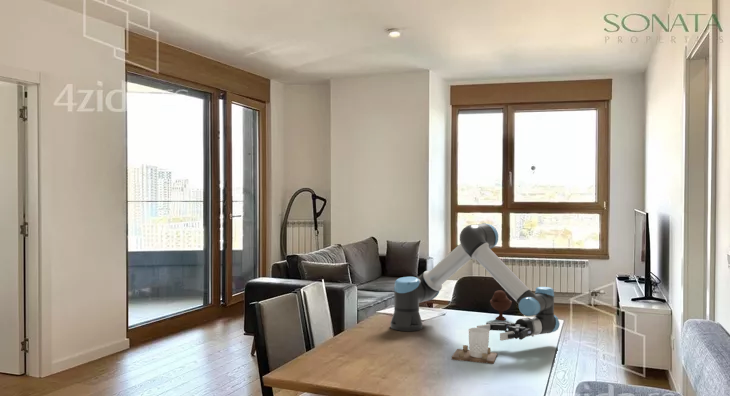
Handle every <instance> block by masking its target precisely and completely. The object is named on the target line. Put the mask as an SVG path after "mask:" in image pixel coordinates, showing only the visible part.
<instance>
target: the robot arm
mask: <svg viewBox="0 0 730 396" xmlns="http://www.w3.org/2000/svg"><path fill="white" fill-rule="evenodd" d="M498 242H499V233H498V230H497V229H496V228H495V227H494V225H492V224H490V223H483V222H482V223H479V224H477V223H476V224H468V225H467V226H465V227H464V228H463V229H462V230H461V231H460V234H459V244H458V245H457V246H456V247H455V248H454V249H452V251H451V252H449V253H448V254H447V255H446V256H445V257H444V258H443V259H441V260H440V262H438V263H437V264H436V265H435V266H434V267H432V269H430V270H425V271H424V272H422V273H421V274H420V275H419V276H418V277H415V276H403V277H399V278H397V279H396V280H395V281H394V287H393V291H394V295H393V296H394V298H393V299H394V304H393V305H394V309H393V310H394V311H393V314H392V318H391V320H390V328H391V329H392V330H394V331H400V332H416V331H420V330H422V329H423V326H424V325H423V320H422V318H421V315H420V303H423V302H427V301H429V302H430V301H432V300H434V299H435V298H436V297H438V295H439V293H440V291H441V290H442V289H443V285H444V283H446V281H448V280H449V279H450V278H451V277H452V276H453V275H455V274H456V273H457V272H458V271H459V270H460V269H461V268H463V267H464V266H465V265H467V264H468V262H470V261H471V260H476V261H477V262H478V264H479V265H481V266H482V268H484V269H485V270H486V272H488V273H489V275H491V277H492V278H493V279H494V280H495V281H496V282H497V283H498V284H499V285H500V286H501V288H502V289H504V291H505V292H506V293H507V294H508V295H509V296H510V297H511V298H512V299H513V300H514V301H515V303H517V305H518V309H519V312H520V314H522V315H523V316H526V317H523V318H518V319H516V321H515V322H511V323H510V322H508V321H504V322H503V321H502V322H501V321H500V322H488V321H487V322H486V323H485V324H480V325H476V328H485V329H488V330H489V332H490V331H501V332H500V333H499V341H508V340H514V339H515V340H517V339H519V340H520V341H521V340H523V339H525V338H527V337H535V336H537V335H544V334H545V335H546V334H551V333H554V332H557V331H558V330H559V328H560V320H559V317H558V316H557V315H556V314H555V312H554V311H555V291H554V288H552V287H550V286H537V287H536V288H535V292H533V291H532V290H531V289H530V288H529V287H528V286H527V285H526V284H525V283H524V282H523V281H522V280H521V279H520V278H519V277H518V276H517V274H516V273H514V271H512V270H511V268H509V267H508V266H507V264H506V263H504V262H503V261H502V259H501V258H500V257H498V255H497V254H496V253H495V252H494V251H493V250H492V249H493V248H495V246H497V244H498ZM502 331H503V332H502Z"/></svg>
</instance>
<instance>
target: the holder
mask: <svg viewBox="0 0 730 396" xmlns="http://www.w3.org/2000/svg"><path fill="white" fill-rule="evenodd" d="M497 357H498V352H493V351H491V347H489V346H488V353H487V354H486V353H482V358H475V357H472V356H470V349H469V346H468V345H467V344H463V345H462V348H457V349H456V350H455V352H454V353H453V354H452V356H451V360H453V361H460V362H461V361H462V362H471V363H472V362H473V363H481V364H490V365H494V363H496V359H497Z"/></svg>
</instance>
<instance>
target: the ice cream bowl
mask: <svg viewBox="0 0 730 396" xmlns="http://www.w3.org/2000/svg"><path fill="white" fill-rule="evenodd" d="M506 293H507V292H506V291H503V290H501V289H500V290H499V289H498V290H496V291H494V293H493V295H492V297H491V299H490V300H489V303H490V306H491V307H492V308H493V310H495V311H497V312H498V316H497V317H495V321H496V320H497V321H500V322H501V321H502V322H503V321H504V322H505V321H507V317H505V316H504V315H503V313H504V312H505V311H507V310H509V309H510V308H511V306H512V305H513V303H512V302H513V301H512V300H511V299H509V298H508V296H507V294H506Z"/></svg>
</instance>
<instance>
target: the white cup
mask: <svg viewBox="0 0 730 396" xmlns="http://www.w3.org/2000/svg"><path fill="white" fill-rule="evenodd" d="M489 340H490V331H489V330H488V329H485V328H477V327H471V328H468V345H469V346H468V349H469V350H470V356H472V357H475V358H482V353H486V354H487V353H488V347H489V342H490V341H489Z"/></svg>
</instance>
